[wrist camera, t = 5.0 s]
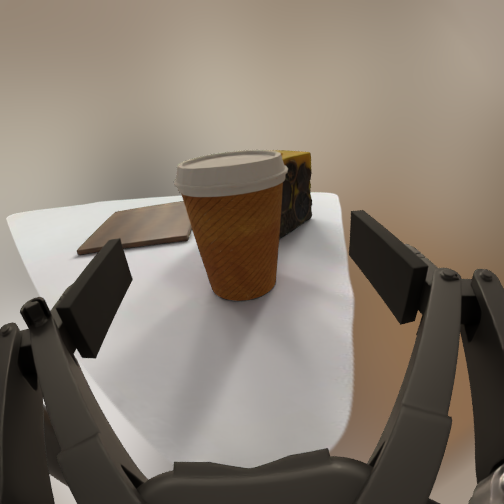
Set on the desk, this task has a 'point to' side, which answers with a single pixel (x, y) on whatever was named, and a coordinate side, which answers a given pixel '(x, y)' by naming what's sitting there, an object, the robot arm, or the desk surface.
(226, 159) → the disposable coffee cup
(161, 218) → the placemat
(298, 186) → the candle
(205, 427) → the desk surface
